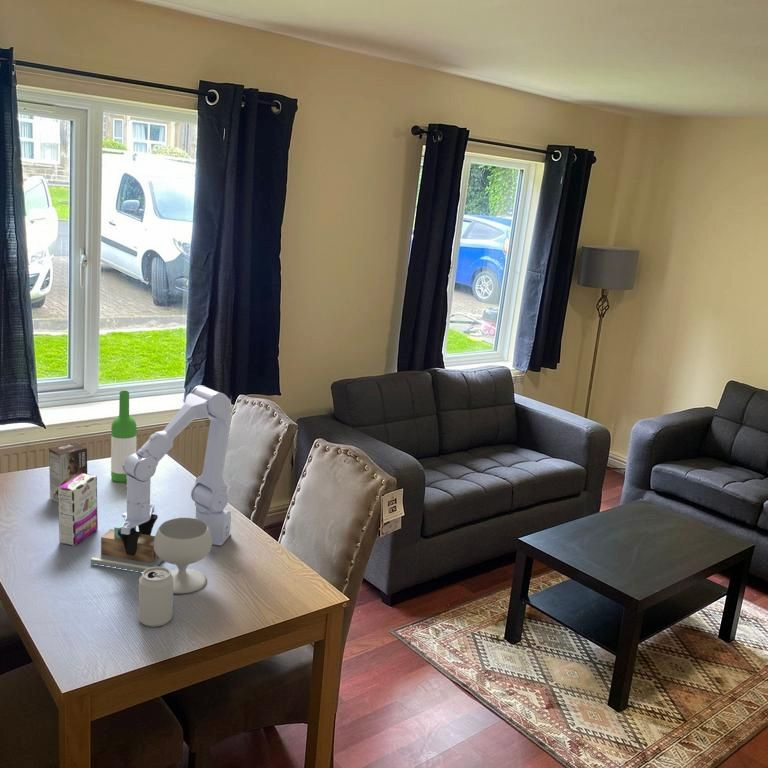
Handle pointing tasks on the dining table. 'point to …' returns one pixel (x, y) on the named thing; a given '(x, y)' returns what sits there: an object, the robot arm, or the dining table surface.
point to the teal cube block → (118, 529)
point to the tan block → (117, 549)
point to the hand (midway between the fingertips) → (137, 547)
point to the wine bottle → (122, 438)
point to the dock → (123, 562)
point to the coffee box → (66, 465)
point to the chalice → (184, 551)
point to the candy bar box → (77, 509)
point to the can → (155, 596)
